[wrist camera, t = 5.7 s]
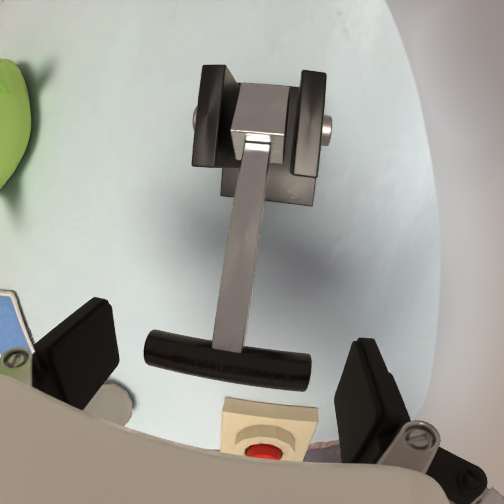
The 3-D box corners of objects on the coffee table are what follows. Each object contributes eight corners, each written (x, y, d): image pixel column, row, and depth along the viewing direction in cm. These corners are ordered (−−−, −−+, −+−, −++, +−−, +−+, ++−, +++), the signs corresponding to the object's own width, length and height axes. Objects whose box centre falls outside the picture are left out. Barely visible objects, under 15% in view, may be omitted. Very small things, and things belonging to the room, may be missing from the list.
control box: (317, 407, 28) (319, 434, 25) (300, 451, 31) (300, 475, 27) (226, 397, 29) (218, 423, 25) (223, 442, 32) (217, 466, 28)
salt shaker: (145, 401, 31) (100, 479, 19) (126, 415, 33) (84, 484, 20) (109, 370, 31) (52, 442, 18) (93, 387, 32) (43, 451, 20)
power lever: (301, 384, 11) (308, 400, 9) (159, 360, 12) (135, 369, 9) (326, 122, 13) (333, 91, 11) (208, 112, 14) (198, 81, 12)
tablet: (-20, 288, 31) (-25, 291, 30) (16, 290, 30) (10, 293, 28) (21, 386, 36) (17, 390, 35) (64, 402, 35) (60, 407, 33)
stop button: (283, 444, 26) (282, 456, 24) (277, 460, 27) (276, 472, 25) (249, 440, 26) (247, 452, 25) (246, 457, 27) (244, 468, 26)
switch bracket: (311, 204, 23) (334, 240, 11) (223, 194, 23) (165, 220, 12) (322, 94, 20) (352, 30, 9) (233, 86, 21) (187, 21, 10)
